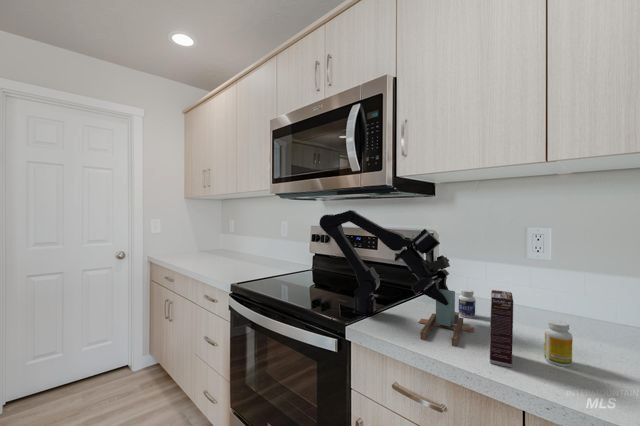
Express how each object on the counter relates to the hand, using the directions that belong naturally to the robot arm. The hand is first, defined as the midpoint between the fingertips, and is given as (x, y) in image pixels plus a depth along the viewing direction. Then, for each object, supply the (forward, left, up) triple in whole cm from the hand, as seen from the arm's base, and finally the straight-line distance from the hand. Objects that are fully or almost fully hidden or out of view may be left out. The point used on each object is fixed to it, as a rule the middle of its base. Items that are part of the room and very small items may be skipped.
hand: (450, 302), depth 98 cm
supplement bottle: (+26, -11, -8) cm, 29 cm away
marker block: (-1, 0, -7) cm, 7 cm away
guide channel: (-1, -3, -8) cm, 9 cm away
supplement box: (+14, -16, -8) cm, 22 cm away
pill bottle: (+4, +15, -8) cm, 18 cm away
